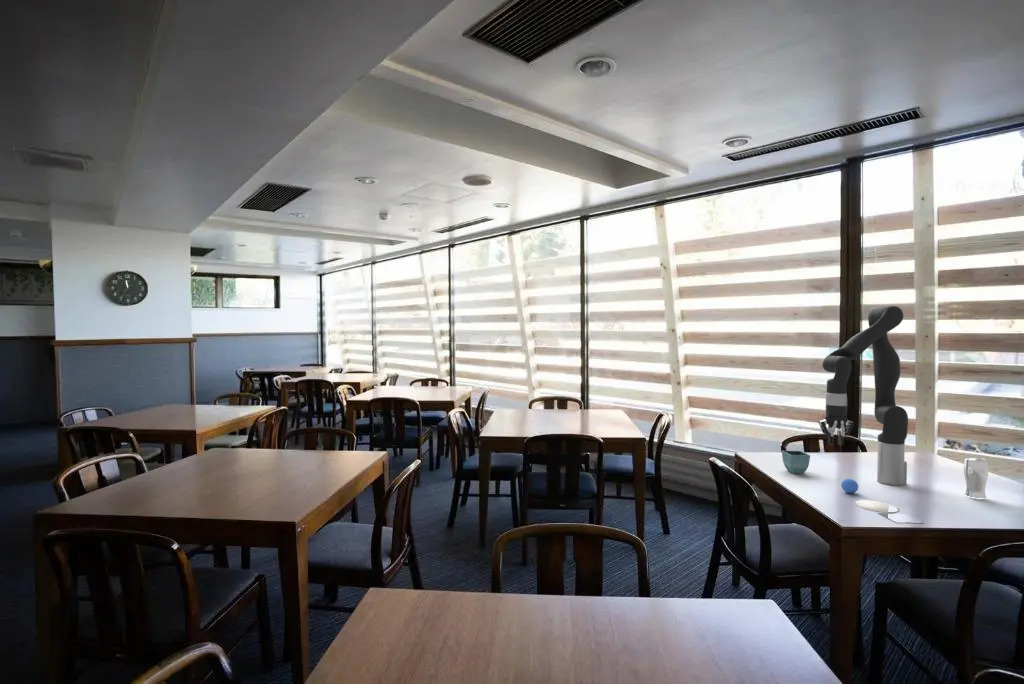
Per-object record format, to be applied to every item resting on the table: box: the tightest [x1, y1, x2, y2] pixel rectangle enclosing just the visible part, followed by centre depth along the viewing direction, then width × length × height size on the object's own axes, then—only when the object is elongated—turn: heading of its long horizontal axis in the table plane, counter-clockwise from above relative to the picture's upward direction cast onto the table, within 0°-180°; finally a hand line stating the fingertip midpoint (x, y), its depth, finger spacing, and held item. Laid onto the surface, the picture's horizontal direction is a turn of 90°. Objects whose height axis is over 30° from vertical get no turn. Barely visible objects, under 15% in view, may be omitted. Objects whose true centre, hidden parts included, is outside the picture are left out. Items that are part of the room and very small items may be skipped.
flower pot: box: [781, 450, 811, 474], centre depth 233 cm, size 9×9×9 cm
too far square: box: [877, 512, 888, 519], centre depth 174 cm, size 9×9×1 cm
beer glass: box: [963, 456, 989, 499], centre depth 196 cm, size 7×7×15 cm
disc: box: [855, 499, 893, 513], centre depth 186 cm, size 13×13×1 cm
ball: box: [841, 478, 859, 494], centre depth 202 cm, size 6×6×6 cm
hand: (835, 444), depth 212 cm, fingers open, 3 cm apart
